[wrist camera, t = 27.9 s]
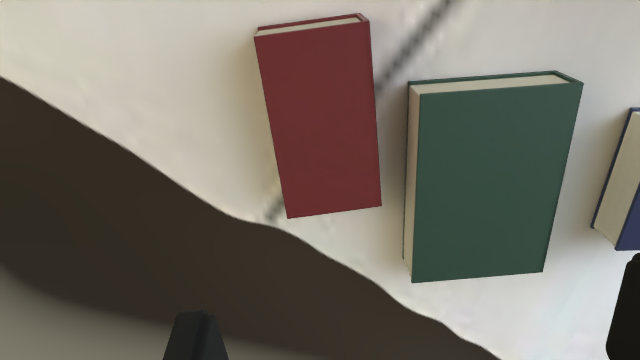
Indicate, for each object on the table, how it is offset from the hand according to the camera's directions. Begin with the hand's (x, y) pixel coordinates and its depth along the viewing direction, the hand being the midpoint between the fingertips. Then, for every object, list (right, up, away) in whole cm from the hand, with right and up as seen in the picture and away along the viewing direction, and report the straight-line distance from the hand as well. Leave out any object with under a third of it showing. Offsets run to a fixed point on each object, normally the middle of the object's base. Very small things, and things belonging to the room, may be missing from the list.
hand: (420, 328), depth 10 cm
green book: (+10, +4, +26) cm, 28 cm away
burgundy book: (-2, +9, +23) cm, 24 cm away
